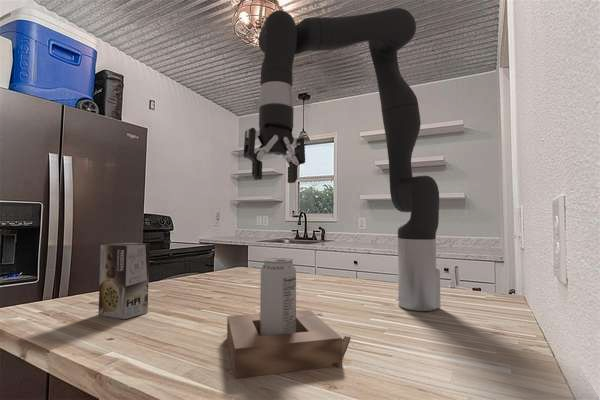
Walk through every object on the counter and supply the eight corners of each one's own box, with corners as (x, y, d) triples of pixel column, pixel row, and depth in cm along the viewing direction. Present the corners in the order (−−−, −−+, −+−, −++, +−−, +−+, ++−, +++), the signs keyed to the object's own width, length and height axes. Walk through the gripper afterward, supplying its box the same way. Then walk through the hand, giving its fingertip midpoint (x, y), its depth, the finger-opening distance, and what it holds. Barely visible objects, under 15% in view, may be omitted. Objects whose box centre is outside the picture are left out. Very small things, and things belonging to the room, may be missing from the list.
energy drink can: (271, 340, 59) (272, 256, 60) (301, 346, 56) (301, 258, 57) (252, 353, 53) (253, 260, 54) (285, 359, 51) (285, 262, 52)
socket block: (309, 330, 65) (309, 309, 65) (342, 365, 49) (342, 337, 50) (227, 338, 60) (227, 315, 60) (234, 378, 45) (235, 348, 45)
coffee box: (149, 312, 76) (151, 243, 77) (123, 320, 70) (126, 245, 71) (122, 308, 80) (125, 241, 81) (96, 315, 74) (99, 243, 75)
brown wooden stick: (343, 334, 61) (351, 336, 61) (343, 340, 61) (351, 341, 61) (329, 362, 49) (338, 363, 48) (329, 368, 49) (338, 370, 48)
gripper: (255, 95, 64) (254, 176, 63) (312, 109, 73) (312, 182, 72) (239, 105, 70) (237, 180, 69) (293, 118, 79) (292, 185, 78)
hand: (275, 181), depth 71 cm, fingers open, 8 cm apart
